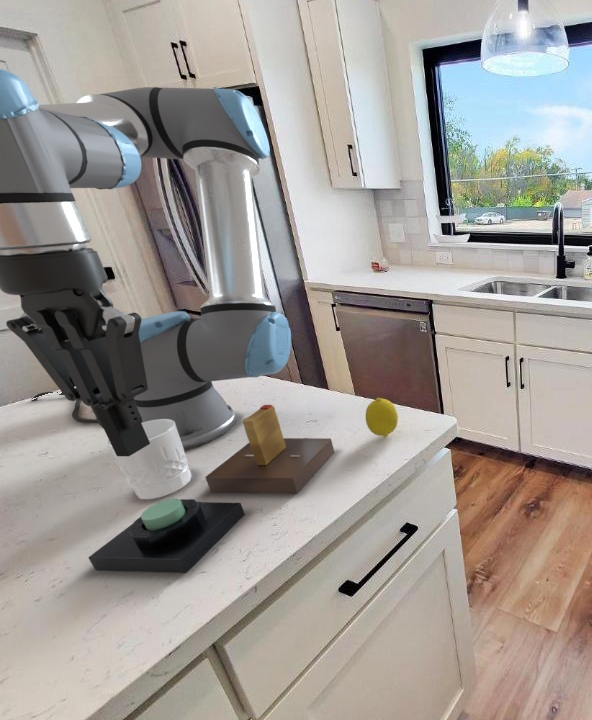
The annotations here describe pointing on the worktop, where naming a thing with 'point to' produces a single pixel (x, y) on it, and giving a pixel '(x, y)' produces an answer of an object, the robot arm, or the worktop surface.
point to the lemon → (381, 417)
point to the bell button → (163, 514)
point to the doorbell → (169, 540)
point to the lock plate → (272, 468)
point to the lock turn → (264, 434)
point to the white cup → (156, 462)
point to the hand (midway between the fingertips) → (133, 449)
